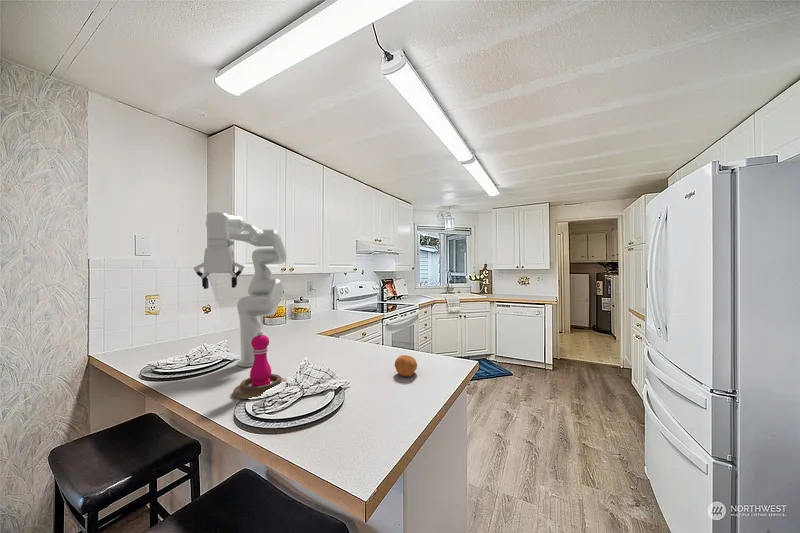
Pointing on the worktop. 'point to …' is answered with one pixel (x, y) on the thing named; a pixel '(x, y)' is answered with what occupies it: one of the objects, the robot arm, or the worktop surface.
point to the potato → (405, 365)
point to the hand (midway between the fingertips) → (220, 288)
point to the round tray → (248, 391)
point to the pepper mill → (260, 361)
